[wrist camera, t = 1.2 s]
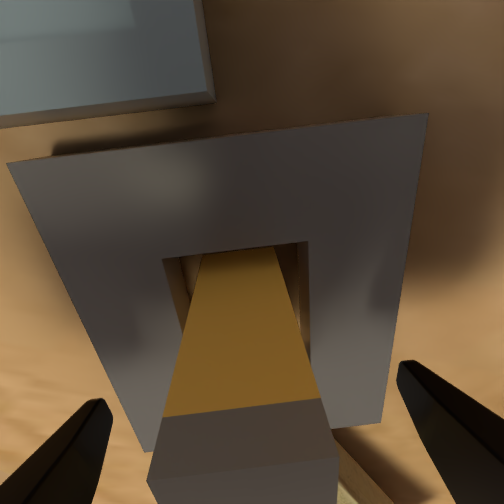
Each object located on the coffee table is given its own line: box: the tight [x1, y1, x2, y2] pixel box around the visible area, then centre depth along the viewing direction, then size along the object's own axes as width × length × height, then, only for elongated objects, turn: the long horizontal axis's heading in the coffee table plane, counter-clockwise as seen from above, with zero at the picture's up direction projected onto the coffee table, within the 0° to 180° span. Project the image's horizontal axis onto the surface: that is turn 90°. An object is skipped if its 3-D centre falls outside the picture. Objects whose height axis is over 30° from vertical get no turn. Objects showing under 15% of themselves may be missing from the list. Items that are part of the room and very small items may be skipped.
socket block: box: [6, 113, 429, 452], centre depth 12 cm, size 12×14×2 cm
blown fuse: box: [146, 247, 339, 504], centre depth 9 cm, size 3×5×8 cm, turn 6°
